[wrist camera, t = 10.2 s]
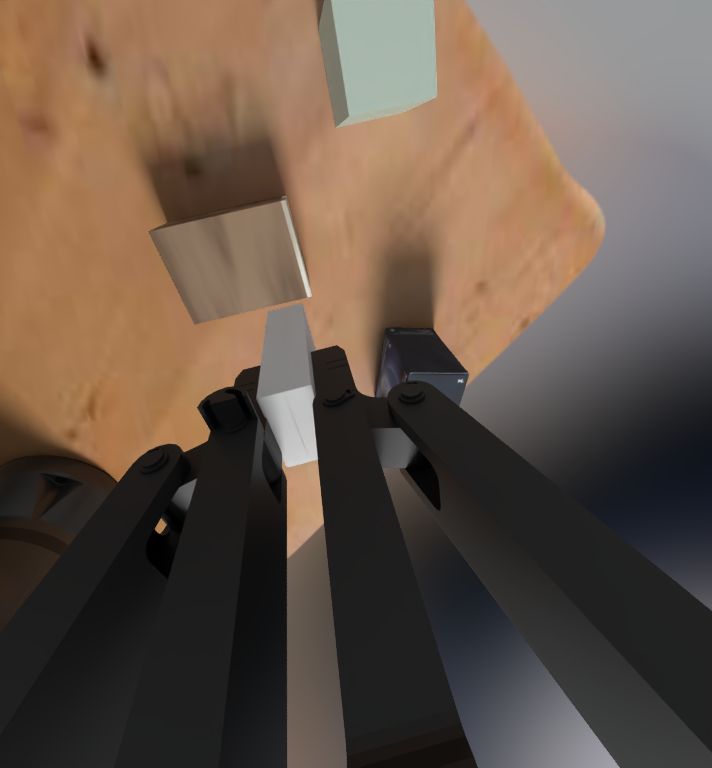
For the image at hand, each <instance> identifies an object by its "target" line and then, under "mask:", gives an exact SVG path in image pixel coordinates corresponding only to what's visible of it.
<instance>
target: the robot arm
mask: <svg viewBox="0 0 712 768" xmlns="http://www.w3.org/2000/svg"><path fill="white" fill-rule="evenodd" d="M197 408H198V410H199V412H200V413H201V415H202V417H203V418H204V420H205V422H206V424H207V425H208V427H209V429H210V430H211V432H210V435H209V439H208V441H207V442H205V443H203V444H201V445H199V446H197V447H195V448H193V449H191V450H189V451H186V452H183V451H182V449H181V448H180V447H179V446H177V445H176V444H166V445H161V446H158V447H155V448H154V449H151V450H149V451H147V452H146V453H145V454H143V455H142V456H141V457H139V458H138V459H137V460H136V461H135V462H134V463H133V464H132V466H131V467H130V468H129V469H128V471H127V472H126V473H125V475H124V476H123V477H122V478H121V480H120V481H119V482H118V483H116V482H115V481H114V480H113V479H112V478H111V477H109V476H108V475H107V474H105V473H104V472H102V471H100V470H99V469H97V468H95V467H92V466H90V465H88V464H85V463H82V462H79V461H76V460H72V459H67V458H62V457H53V456H32V457H24V458H19V459H16V460H13V461H10V462H7V463H5V464H3V465H2V466H0V768H287V480H286V476H285V474H284V471H283V469H282V458H283V460H284V462H285V464H286V467H291V466H295V465H299V464H303V463H306V462H310V461H314V460H318V466H319V476H320V486H321V496H322V506H323V517H324V527H325V536H326V547H327V557H328V567H329V577H330V587H331V597H332V607H333V617H334V626H335V637H336V648H337V657H338V668H339V678H340V688H341V697H342V706H343V707H342V708H343V718H344V727H345V738H346V751H347V768H478V767H477V764H476V762H475V759H474V756H473V753H472V751H471V748H470V746H469V743H468V741H467V738H466V736H465V733H464V730H463V727H462V724H461V722H460V718H459V715H458V712H457V709H456V706H455V702H454V699H453V696H452V693H451V689H450V686H449V683H448V680H447V676H446V673H445V670H444V667H443V664H442V661H441V657H440V654H439V651H438V647H437V644H436V641H435V638H434V635H433V631H432V628H431V625H430V622H429V618H428V615H427V612H426V609H425V605H424V602H423V599H422V596H421V593H420V589H419V586H418V583H417V580H416V576H415V573H414V570H413V567H412V564H411V560H410V557H409V554H408V551H407V547H406V544H405V541H404V538H403V534H402V531H401V528H400V525H399V522H398V518H397V515H396V512H395V508H394V505H393V502H392V499H391V496H390V492H389V489H388V486H387V483H386V479H385V476H384V473H383V470H382V468H399V469H400V471H401V473H402V475H403V476H404V477H405V479H406V480H407V481H408V483H409V484H410V485H411V487H412V488H413V489H414V491H415V492H416V493H417V495H418V496H419V497H420V499H421V500H422V501H423V503H424V504H425V505H426V507H427V508H428V510H429V511H430V512H431V514H432V515H433V516H434V518H435V519H436V520H437V522H438V523H439V524H440V526H441V527H442V528H443V530H444V531H445V533H446V534H447V535H448V536H449V538H450V539H451V541H452V542H453V543H454V545H455V546H456V547H457V549H458V550H459V551H460V553H461V554H462V555H463V557H464V558H465V559H466V561H467V562H468V564H469V565H470V566H471V567H472V569H473V570H474V572H475V573H476V574H477V576H478V577H479V578H480V580H481V581H482V582H483V584H484V585H485V586H486V588H487V589H488V590H489V592H490V593H491V594H492V596H493V597H494V598H495V600H496V601H497V603H498V604H499V605H500V607H501V608H502V609H503V611H504V612H505V613H506V615H507V616H508V617H509V619H510V620H511V621H512V623H513V624H514V625H515V627H516V628H517V629H518V631H519V632H520V634H521V635H522V636H523V638H524V639H525V640H526V642H527V643H528V644H529V646H530V647H531V648H532V650H533V651H534V652H535V654H536V655H537V656H538V658H539V659H540V661H541V662H542V663H543V665H544V666H545V667H546V669H547V670H548V671H549V673H550V674H551V675H552V677H553V678H554V679H555V680H556V682H557V683H558V685H559V686H560V687H561V689H562V690H563V691H564V693H565V694H566V695H567V697H568V698H569V700H570V701H571V702H572V704H573V705H574V706H575V708H576V709H577V710H578V711H579V713H580V714H581V716H582V717H583V718H584V720H585V721H586V722H587V724H588V725H589V727H590V728H591V729H592V730H593V732H594V733H595V735H596V736H597V737H598V739H599V740H600V741H601V743H602V744H603V745H604V747H605V748H606V749H607V751H608V752H609V753H610V755H611V756H612V757H613V759H614V760H615V762H616V763H617V764H618V766H619V767H620V768H712V611H711V610H710V609H709V608H708V607H706V606H705V605H704V604H702V603H701V602H700V601H699V600H698V599H696V598H695V597H694V596H692V595H691V594H690V593H689V592H688V591H687V590H685V589H684V588H683V587H682V586H680V585H679V584H678V583H677V582H675V581H674V580H673V579H672V578H670V577H669V576H668V575H667V574H666V573H664V572H663V571H662V570H661V569H659V568H658V567H657V566H656V565H654V564H653V563H652V562H651V561H649V560H648V559H647V558H646V557H644V556H643V555H642V554H641V553H640V552H638V551H637V550H636V549H635V548H633V547H632V546H631V545H630V544H628V543H627V542H626V541H625V540H623V539H622V538H621V537H620V536H619V535H617V534H616V533H615V532H614V531H612V530H611V529H610V528H609V527H607V526H606V525H605V524H604V523H602V522H601V521H600V520H599V519H598V518H596V517H595V516H594V515H593V514H591V513H590V512H589V511H588V510H586V509H585V508H584V507H583V506H581V505H580V504H579V503H578V502H577V501H575V500H574V499H573V498H572V497H570V496H569V495H568V494H567V493H565V492H564V491H563V490H562V489H560V488H559V487H558V486H557V485H556V484H554V483H553V482H552V481H551V480H549V479H548V478H547V477H546V476H544V475H543V474H542V473H541V472H539V471H538V470H537V469H536V468H534V467H533V466H532V465H531V464H530V463H528V462H527V461H526V460H525V459H523V458H522V457H521V456H520V455H518V454H517V453H516V452H515V451H514V450H512V449H511V448H510V447H509V446H507V445H506V444H505V443H504V442H502V441H501V440H500V439H499V438H497V437H496V436H495V435H494V434H492V433H491V432H490V431H489V430H488V429H486V428H485V427H484V426H482V425H481V424H480V423H479V422H478V421H476V420H475V419H474V418H473V417H471V416H470V415H469V414H468V413H467V412H465V411H464V410H463V409H462V408H460V407H459V406H458V405H457V404H455V403H454V402H453V401H452V400H450V399H449V398H448V397H447V396H446V395H444V394H443V393H442V392H441V391H439V390H438V389H437V388H436V387H434V386H433V385H431V384H429V383H427V382H424V381H419V380H414V381H406V382H402V383H399V384H397V385H396V386H394V387H392V388H391V390H390V391H389V392H388V395H387V397H369V396H366V395H363V394H361V393H360V392H359V391H358V390H357V388H356V386H355V383H354V380H353V377H352V373H351V370H350V367H349V364H348V360H347V357H346V354H345V351H344V350H343V349H342V348H340V347H339V346H337V345H336V346H332V347H328V348H324V349H320V350H316V349H315V345H314V342H313V338H312V335H311V331H310V328H309V325H308V321H307V318H306V314H305V311H304V307H303V304H302V303H301V304H297V305H292V306H288V307H284V308H280V309H276V310H272V311H268V316H267V324H266V331H265V338H264V346H263V353H262V360H261V366H257V367H253V368H249V369H245V370H243V371H242V372H241V373H240V374H239V375H238V377H237V378H236V379H235V384H234V386H233V387H226V388H223V389H220V390H218V391H215V392H214V393H212V394H210V395H208V396H207V397H206V398H205V399H204V400H202V401H201V403H200V404H199V406H198V407H197ZM161 518H162V519H163V521H164V522H165V523H166V524H167V525H166V527H165V529H164V530H163V531H162V532H161V534H159V533H157V531H156V530H155V527H156V526H157V524H158V522H159V521H160V519H161Z"/></svg>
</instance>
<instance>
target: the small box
mask: <svg viewBox="0 0 712 768" xmlns="http://www.w3.org/2000/svg"><path fill="white" fill-rule="evenodd" d="M468 377H469V373H468V371H467V370H465V368H464V367H463V366H462V365H461V363H460V362H459V361H458V360H457V358H456V357H455V356H454V355H453V354H452V352H451V351H450V350H449V349H448V348H447V346H446V345H445V344H444V343H443V341H442V340H441V339H440V338H439V336H438V335H437V334H436V332H435V331H434V329H430V328H427V329H423V328H422V329H410V328H386V331H385V337H384V343H383V350H382V356H381V363H380V369H379V376H378V382H377V389H376V395H375V397H387V395H388V392H389V391H390V390H391V388H392V387H394V386H396V385H397V384H399V383H402V382H406V381H414V380H419V381H424V382H427V383H429V384H431V385H433V386H434V387H436V388H437V389H438V390H439V391H441V392H442V393H443V394H444V395H446V396H447V397H448V398H449V399H450V400H452V401H453V402H454V403H455V404H457V405H458V406H459V405H460V402H461V399H462V396H463V393H464V389H465V386H466V383H467V380H468Z"/></svg>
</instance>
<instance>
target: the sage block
mask: <svg viewBox="0 0 712 768" xmlns="http://www.w3.org/2000/svg"><path fill="white" fill-rule="evenodd" d="M318 31H319V37H320V42H321V48H322V54H323V59H324V65H325V71H326V76H327V82H328V88H329V93H330V99H331V105H332V110H333V116H334V122H335V127H336V128H337V127H342V126H346V125H350V124H355V123H359V122H364V121H368V120H373V119H377V118H382V117H386V116H391V115H395V114H400V113H404V112H406V111H408V110H410V109H412V108H414V107H417V106H419V105H421V104H423V103H425V102H427V101H429V100H431V99H434V98H436V97H437V77H436V51H435V24H434V0H324V4H323V9H322V14H321V18H320V23H319V28H318Z"/></svg>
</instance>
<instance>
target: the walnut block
mask: <svg viewBox="0 0 712 768" xmlns="http://www.w3.org/2000/svg"><path fill="white" fill-rule="evenodd" d="M149 234H150V236H151V238H152V240H153V242H154V244H155V246H156V248H157V250H158V252H159V254H160V256H161V258H162V260H163V262H164V264H165V266H166V268H167V270H168V272H169V274H170V276H171V278H172V280H173V282H174V284H175V286H176V288H177V290H178V292H179V294H180V296H181V298H182V300H183V302H184V304H185V306H186V308H187V310H188V312H189V314H190V316H191V318H192V320H193V322H194V324H199V323H203V322H207V321H211V320H215V319H219V318H224V317H228V316H232V315H236V314H240V313H244V312H249V311H253V310H257V309H261V308H265V307H269V306H274V305H278V304H282V303H286V302H290V301H294V300H298V299H303V298H307V297H311V296H312V295H311V289H310V283H309V278H308V275H307V271H306V267H305V263H304V260H303V256H302V252H301V248H300V245H299V241H298V237H297V233H296V230H295V226H294V222H293V218H292V215H291V211H290V207H289V203H288V200H287V196H281V197H277V198H273V199H268V200H264V201H260V202H255V203H251V204H247V205H242V206H238V207H234V208H229V209H225V210H221V211H216V212H212V213H208V214H203V215H199V216H195V217H190V218H186V219H182V220H177V221H173V222H168V223H166V224H164V225H161V226H159V227H157V228H155V229H153V230H151V231H149Z"/></svg>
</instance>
